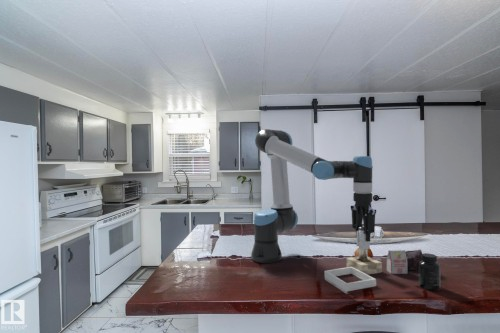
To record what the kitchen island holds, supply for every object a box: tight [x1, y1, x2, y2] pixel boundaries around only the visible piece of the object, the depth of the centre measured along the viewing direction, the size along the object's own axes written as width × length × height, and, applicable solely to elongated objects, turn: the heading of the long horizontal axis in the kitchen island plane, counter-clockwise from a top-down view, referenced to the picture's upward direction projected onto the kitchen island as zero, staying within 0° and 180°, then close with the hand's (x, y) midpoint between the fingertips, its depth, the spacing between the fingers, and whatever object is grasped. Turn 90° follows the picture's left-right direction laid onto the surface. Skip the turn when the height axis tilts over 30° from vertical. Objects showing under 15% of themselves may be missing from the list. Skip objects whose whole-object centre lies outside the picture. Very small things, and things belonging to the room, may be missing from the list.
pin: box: [358, 226, 368, 262], centre depth 124 cm, size 4×4×14 cm
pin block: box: [345, 256, 383, 275], centre depth 124 cm, size 10×10×5 cm
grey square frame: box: [324, 266, 377, 295], centre depth 112 cm, size 14×13×4 cm
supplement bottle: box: [418, 252, 441, 292], centre depth 107 cm, size 7×7×12 cm
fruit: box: [353, 247, 373, 258], centre depth 137 cm, size 8×8×8 cm
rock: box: [405, 249, 423, 272], centre depth 125 cm, size 12×9×10 cm
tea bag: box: [386, 249, 408, 275], centre depth 120 cm, size 4×7×10 cm, turn 90°
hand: (363, 247), depth 124 cm, fingers closed on pin, 3 cm apart
